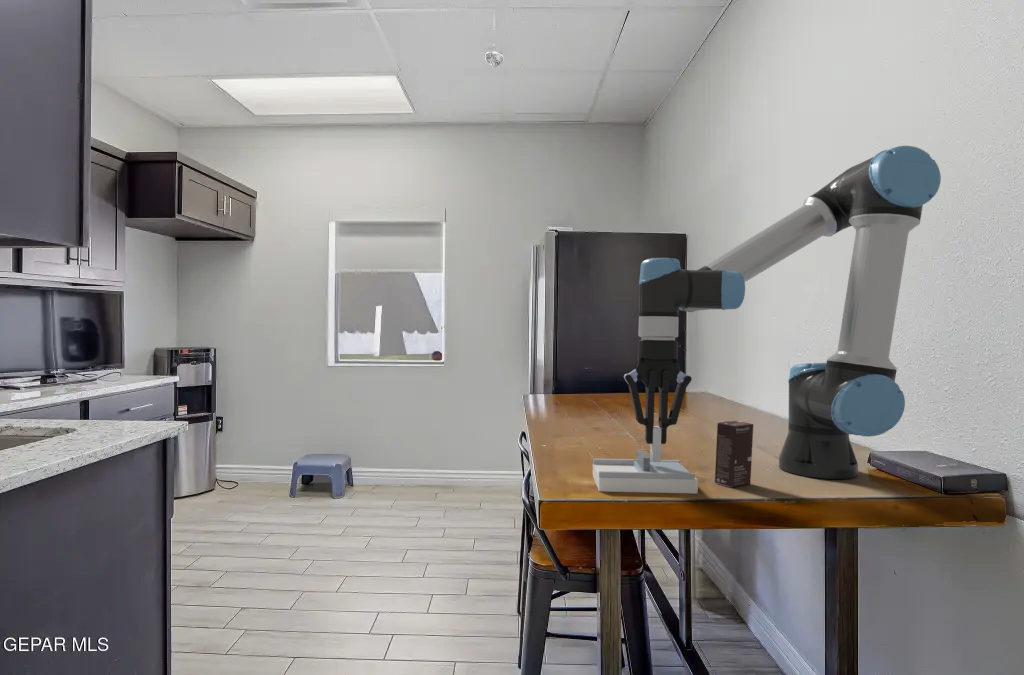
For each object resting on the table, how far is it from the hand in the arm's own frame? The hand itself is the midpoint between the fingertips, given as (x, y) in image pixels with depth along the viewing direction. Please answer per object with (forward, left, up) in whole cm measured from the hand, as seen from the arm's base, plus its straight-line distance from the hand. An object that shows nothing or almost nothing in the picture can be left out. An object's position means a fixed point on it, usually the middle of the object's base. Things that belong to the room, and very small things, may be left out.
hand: (655, 460), depth 114 cm
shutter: (-1, 0, -2) cm, 2 cm away
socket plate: (+2, 0, -5) cm, 5 cm away
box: (-16, -2, -5) cm, 16 cm away
